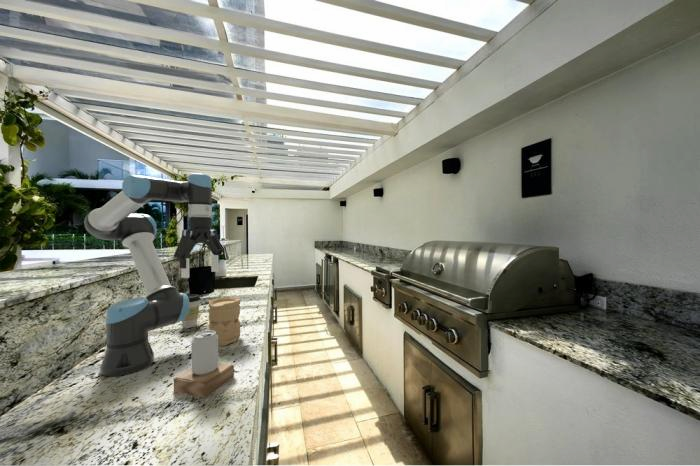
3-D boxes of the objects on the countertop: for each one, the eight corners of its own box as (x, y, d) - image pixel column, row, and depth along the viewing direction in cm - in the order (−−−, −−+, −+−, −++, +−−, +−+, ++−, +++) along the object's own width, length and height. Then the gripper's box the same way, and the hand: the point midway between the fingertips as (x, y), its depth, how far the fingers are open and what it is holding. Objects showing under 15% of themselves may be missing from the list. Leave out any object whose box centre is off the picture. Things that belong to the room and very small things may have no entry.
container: (225, 348, 113) (225, 305, 113) (202, 344, 117) (201, 302, 117) (246, 337, 125) (246, 297, 125) (224, 333, 129) (224, 295, 129)
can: (207, 378, 83) (206, 338, 82) (185, 375, 84) (185, 336, 84) (223, 365, 90) (223, 329, 90) (203, 363, 91) (203, 328, 91)
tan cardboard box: (173, 391, 83) (173, 377, 83) (204, 371, 94) (204, 359, 94) (206, 398, 80) (205, 383, 80) (234, 376, 91) (233, 364, 91)
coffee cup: (193, 329, 135) (193, 298, 135) (174, 329, 135) (173, 298, 135) (204, 322, 145) (204, 294, 144) (186, 322, 145) (185, 294, 145)
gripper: (178, 215, 87) (179, 281, 87) (232, 217, 111) (232, 269, 111) (160, 215, 89) (161, 280, 89) (217, 218, 113) (217, 269, 113)
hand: (201, 274), depth 100 cm, fingers open, 13 cm apart
